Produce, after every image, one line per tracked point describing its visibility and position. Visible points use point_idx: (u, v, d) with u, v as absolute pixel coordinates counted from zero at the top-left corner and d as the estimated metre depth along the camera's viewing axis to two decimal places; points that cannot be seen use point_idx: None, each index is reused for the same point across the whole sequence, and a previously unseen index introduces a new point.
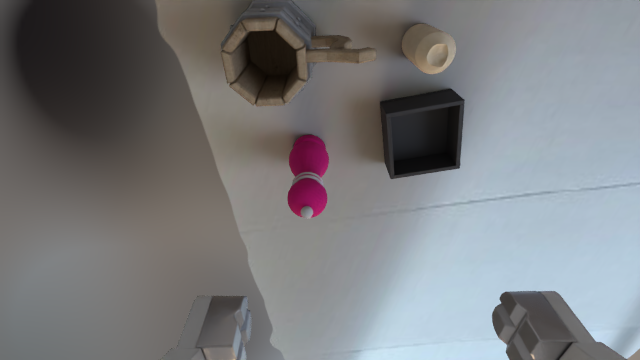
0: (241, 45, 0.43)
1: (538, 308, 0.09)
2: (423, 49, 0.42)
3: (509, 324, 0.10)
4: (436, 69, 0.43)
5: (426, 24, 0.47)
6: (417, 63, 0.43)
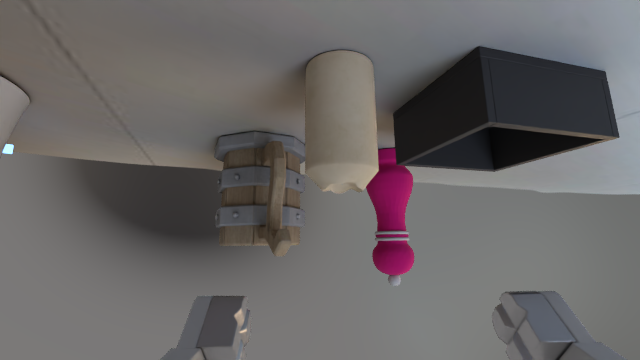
0: None
1: (538, 308, 0.09)
2: None
3: (509, 325, 0.10)
4: None
5: (310, 74, 0.23)
6: None
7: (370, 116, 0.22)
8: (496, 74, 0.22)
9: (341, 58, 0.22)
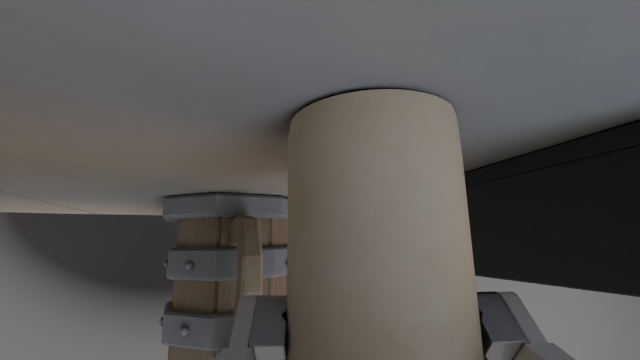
0: None
1: (495, 309, 0.09)
2: None
3: None
4: None
5: (300, 151, 0.09)
6: None
7: (470, 277, 0.08)
8: None
9: (386, 113, 0.08)
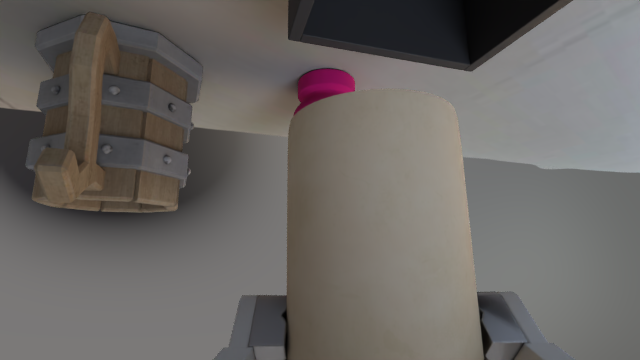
0: None
1: (495, 309, 0.09)
2: None
3: None
4: None
5: (300, 151, 0.09)
6: None
7: (470, 277, 0.08)
8: None
9: (386, 113, 0.08)
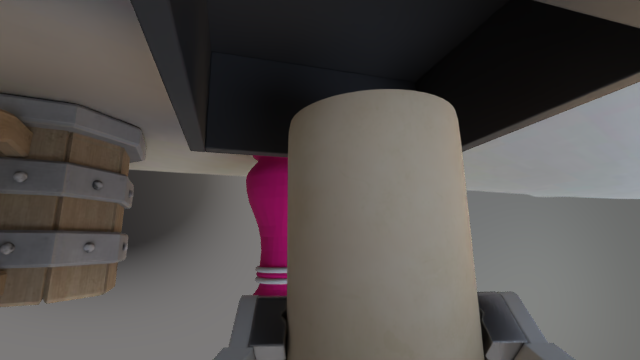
0: None
1: (495, 309, 0.09)
2: None
3: None
4: None
5: (300, 151, 0.09)
6: None
7: (471, 277, 0.08)
8: None
9: (387, 113, 0.08)
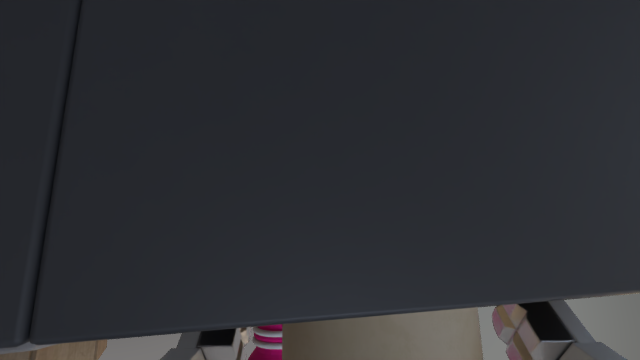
0: None
1: (538, 308, 0.09)
2: None
3: (509, 324, 0.10)
4: None
5: None
6: None
7: None
8: None
9: None
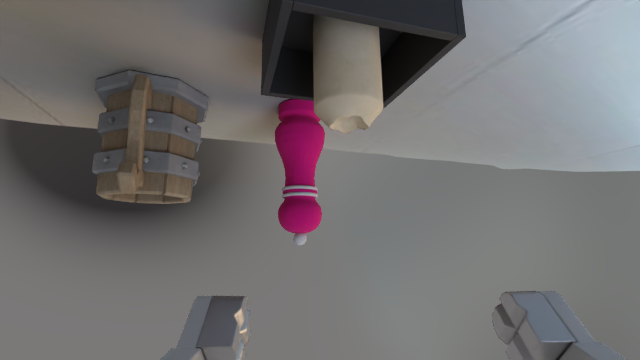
0: None
1: (538, 308, 0.09)
2: None
3: (509, 325, 0.10)
4: None
5: (318, 18, 0.25)
6: None
7: (375, 54, 0.24)
8: None
9: None
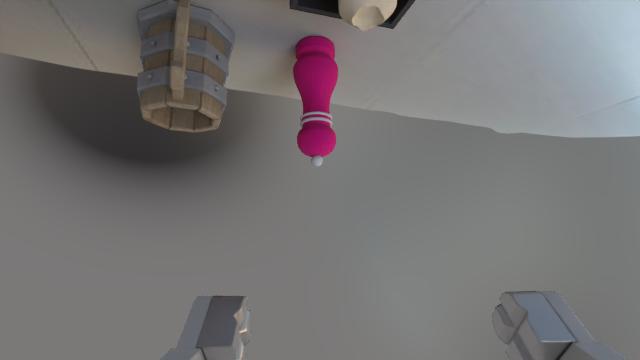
0: None
1: (538, 308, 0.09)
2: (350, 24, 0.31)
3: (509, 325, 0.10)
4: None
5: None
6: None
7: None
8: None
9: None
